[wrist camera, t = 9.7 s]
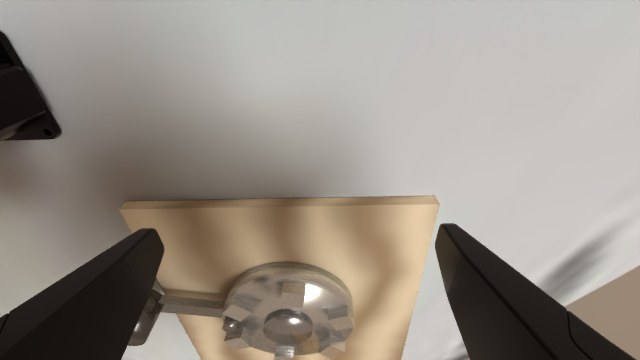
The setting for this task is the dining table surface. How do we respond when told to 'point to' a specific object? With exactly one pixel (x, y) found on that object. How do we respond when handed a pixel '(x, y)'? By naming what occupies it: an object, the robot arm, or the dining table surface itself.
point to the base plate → (296, 259)
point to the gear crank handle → (270, 311)
